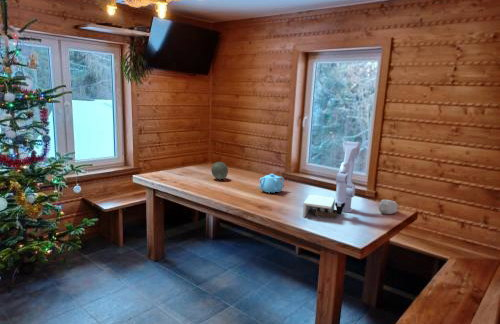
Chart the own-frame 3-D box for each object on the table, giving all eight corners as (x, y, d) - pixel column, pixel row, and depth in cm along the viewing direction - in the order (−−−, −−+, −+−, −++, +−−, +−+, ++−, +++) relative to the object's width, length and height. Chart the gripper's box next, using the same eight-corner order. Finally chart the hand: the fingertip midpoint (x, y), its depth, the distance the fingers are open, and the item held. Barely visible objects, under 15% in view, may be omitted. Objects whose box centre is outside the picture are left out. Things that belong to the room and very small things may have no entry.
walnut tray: (317, 212, 216) (318, 202, 215) (337, 214, 212) (338, 205, 211) (315, 215, 208) (316, 206, 207) (335, 218, 204) (336, 209, 203)
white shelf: (308, 207, 224) (309, 194, 222) (334, 211, 218) (335, 198, 217) (302, 217, 205) (303, 202, 203) (330, 221, 200) (331, 206, 198)
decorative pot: (267, 187, 271) (268, 170, 268) (286, 191, 262) (287, 173, 259) (256, 191, 257) (257, 174, 255) (275, 195, 248) (276, 177, 246)
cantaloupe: (229, 178, 296) (230, 161, 293) (224, 182, 282) (225, 164, 280) (214, 177, 299) (214, 160, 296) (208, 180, 285) (208, 162, 283)
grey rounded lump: (377, 214, 215) (378, 210, 229) (397, 216, 211) (397, 212, 224) (379, 199, 214) (380, 196, 228) (399, 202, 210) (398, 199, 224)
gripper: (347, 196, 197) (345, 219, 199) (349, 190, 211) (346, 212, 213) (334, 195, 199) (332, 217, 202) (337, 189, 213) (335, 210, 215)
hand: (339, 214), depth 208 cm, fingers closed, pressing on walnut tray
